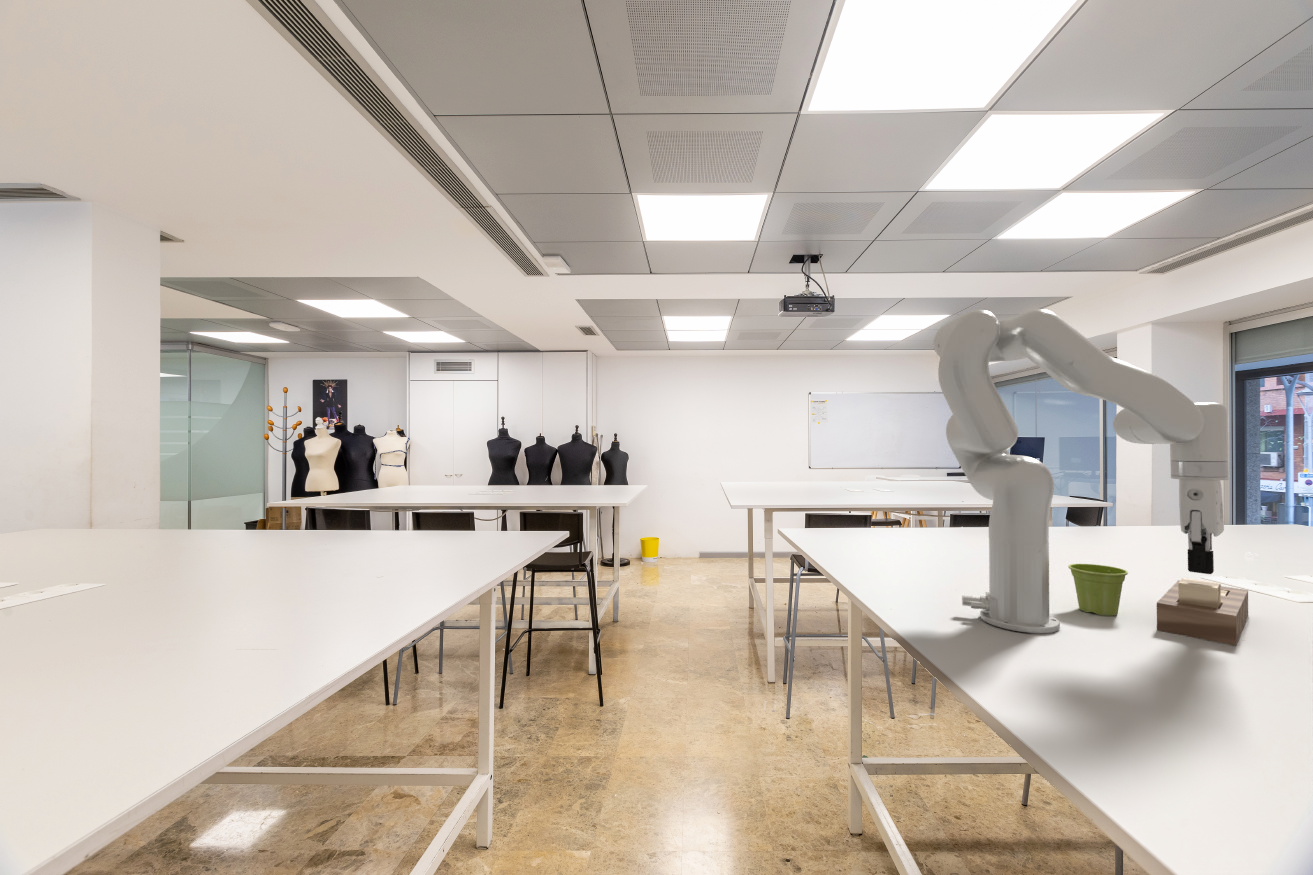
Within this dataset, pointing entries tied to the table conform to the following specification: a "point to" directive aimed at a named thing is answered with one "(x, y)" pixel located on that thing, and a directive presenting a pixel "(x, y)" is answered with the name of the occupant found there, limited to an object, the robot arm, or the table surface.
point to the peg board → (1204, 616)
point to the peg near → (1200, 593)
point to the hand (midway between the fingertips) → (1200, 571)
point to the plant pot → (1098, 587)
